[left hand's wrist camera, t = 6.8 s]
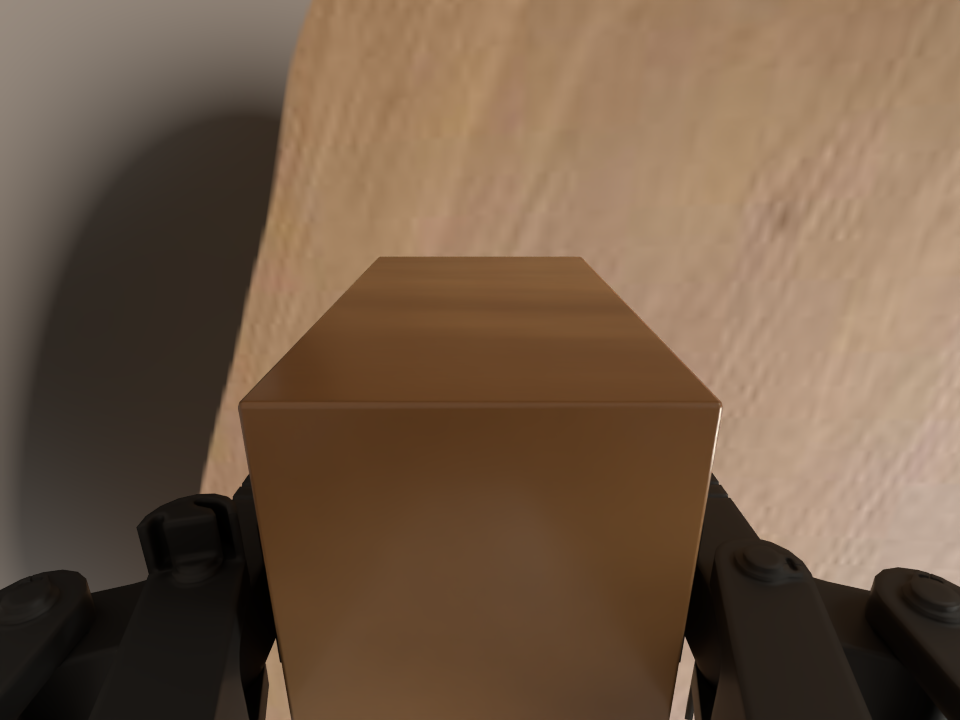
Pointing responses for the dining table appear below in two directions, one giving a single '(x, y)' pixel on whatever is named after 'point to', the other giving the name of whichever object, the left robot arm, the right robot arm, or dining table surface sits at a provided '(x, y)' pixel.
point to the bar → (480, 497)
